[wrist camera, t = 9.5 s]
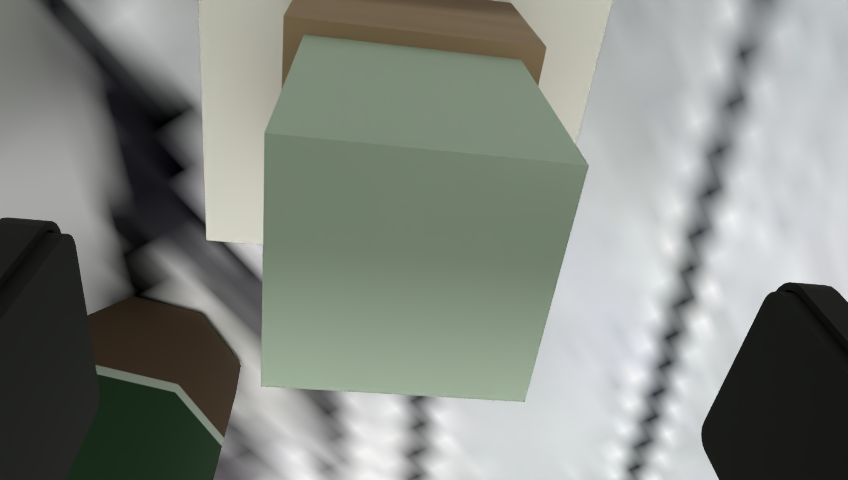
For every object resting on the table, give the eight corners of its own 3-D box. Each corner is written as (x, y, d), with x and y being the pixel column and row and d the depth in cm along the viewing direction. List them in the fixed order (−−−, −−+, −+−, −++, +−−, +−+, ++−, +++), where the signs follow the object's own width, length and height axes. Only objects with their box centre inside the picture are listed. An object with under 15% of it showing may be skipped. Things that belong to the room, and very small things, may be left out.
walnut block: (305, -23, 19) (283, 15, 15) (511, 2, 20) (547, 47, 16) (297, 168, 22) (277, 247, 18) (477, 186, 23) (499, 265, 19)
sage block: (303, 34, 15) (265, 132, 10) (520, 59, 16) (588, 165, 11) (295, 227, 18) (261, 385, 13) (483, 243, 18) (524, 401, 13)
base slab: (212, -160, 20) (192, -161, 18) (611, -103, 21) (637, -96, 19) (221, 206, 26) (206, 240, 24) (531, 233, 27) (544, 267, 25)
